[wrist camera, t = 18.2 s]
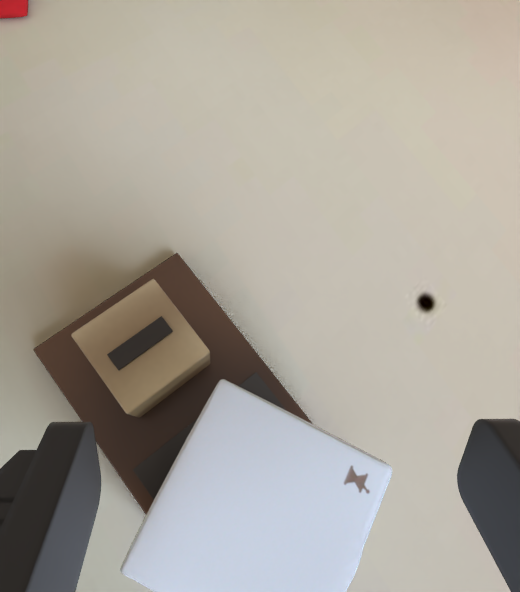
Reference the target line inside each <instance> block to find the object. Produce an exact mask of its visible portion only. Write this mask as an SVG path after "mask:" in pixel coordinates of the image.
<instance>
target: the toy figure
mask: <svg viewBox="0 0 520 592" xmlns="http://www.w3.org/2000/svg"><path fill="white" fill-rule="evenodd" d="M27 13H28V0H0V18H15V17H23V16H27Z"/></svg>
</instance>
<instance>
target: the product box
mask: <svg viewBox="0 0 520 592" xmlns="http://www.w3.org/2000/svg"><path fill="white" fill-rule="evenodd" d="M391 475H392V468H391V466H390V465H389V464H387V463H386V462H384V461H382V460H380V459H378V458H376V457H374V456H372V455H370V454H369V453H367V452H365V451H363V450H361V449H359V448H357V447H355V446H353V445H351V444H350V443H348V442H346V441H344V440H342V439H340V438H338V437H336V436H334V435H332V434H330V433H328V432H327V431H325V430H323V429H321V428H319V427H317V426H315V425H313V424H311V423H309V422H307V421H305V420H303V419H301V418H299V417H298V416H296V415H294V414H292V413H290V412H288V411H286V410H284V409H282V408H280V407H278V406H276V405H274V404H272V403H270V402H268V401H266V400H264V399H262V398H260V397H258V396H256V395H254V394H252V393H250V392H248V391H246V390H244V389H242V388H240V387H238V386H236V385H234V384H232V383H230V382H229V381H227V380H225V379H222V380H220V381H219V382H218V384H217V385H216V387H215V389H214V391H213V392H212V394H211V396H210V398H209V399H208V401H207V403H206V405H205V406H204V408H203V410H202V412H201V414H200V415H199V417H198V419H197V421H196V423H195V425H194V426H193V428H192V430H191V432H190V434H189V435H188V437H187V439H186V441H185V443H184V445H183V447H182V448H181V450H180V452H179V454H178V456H177V458H176V460H175V461H174V463H173V465H172V467H171V469H170V471H169V473H168V475H167V477H166V478H165V480H164V482H163V484H162V486H161V488H160V490H159V492H158V493H157V495H156V497H155V499H154V501H153V503H152V505H151V507H150V509H149V511H148V513H147V515H146V516H145V518H144V520H143V522H142V524H141V526H140V528H139V530H138V532H137V534H136V536H135V538H134V540H133V542H132V544H131V546H130V548H129V551H128V553H127V555H126V557H125V559H124V561H123V563H122V566H121V568H120V571H121V573H122V574H124V575H125V576H127V577H129V578H131V579H133V580H135V581H136V582H138V583H140V584H142V585H143V586H145V587H147V588H149V589H151V590H152V591H154V592H346V591H347V589H348V587H349V585H350V583H351V582H352V580H353V577H354V575H355V573H356V570H357V568H358V565H359V562H360V559H361V555H362V551H363V548H364V545H365V542H366V540H367V537H368V534H369V532H370V529H371V527H372V524H373V522H374V519H375V517H376V514H377V512H378V509H379V506H380V504H381V501H382V499H383V496H384V493H385V491H386V488H387V486H388V483H389V481H390V478H391Z"/></svg>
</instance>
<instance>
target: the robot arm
mask: <svg viewBox="0 0 520 592" xmlns="http://www.w3.org/2000/svg"><path fill="white" fill-rule="evenodd" d="M457 482H458V488H459V492H460V495H461V498H462V500H463V502H464V504H465V506H466V508H467V510H468V511H469V513H470V515H471V517H472V519H473V521H474V523H475V525H476V527H477V528H478V530H479V532H480V534H481V536H482V538H483V540H484V542H485V543H486V545H487V547H488V549H489V551H490V553H491V555H492V557H493V559H494V560H495V562H496V564H497V566H498V568H499V570H500V572H501V574H502V575H503V577H504V579H505V581H506V583H507V585H508V587H509V589H510V591H511V592H520V421H518V420H516V419H479V420H477V421H476V422H475V424H474V426H473V428H472V431H471V434H470V437H469V439H468V442H467V445H466V448H465V451H464V454H463V457H462V459H461V462H460V465H459V468H458V473H457ZM100 493H101V473H100V466H99V460H98V453H97V446H96V440H95V433H94V427H93V424H92V423H91V422H52V423H50V424H49V426H48V427H47V429H46V431H45V433H44V435H43V438H42V440H41V442H40V444H39V446H38V448H37V450H19V451H18V452H17V453H16V454H15V455H14V456H13V457H12V458H11V459H10V460H9V461H8V462H7V463H6V464H5V465H4V466H3V467H2V468H1V469H0V592H75V590H76V587H77V583H78V579H79V576H80V572H81V568H82V565H83V561H84V557H85V554H86V550H87V546H88V543H89V539H90V535H91V532H92V528H93V524H94V521H95V517H96V513H97V509H98V505H99V500H100Z"/></svg>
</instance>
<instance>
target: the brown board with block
mask: <svg viewBox="0 0 520 592" xmlns="http://www.w3.org/2000/svg"><path fill="white" fill-rule="evenodd" d="M34 352H35V353H36V354H37V356H38V357H39V359H40V360H41V362H42V363H43V365H44V366H45V368H46V369H47V371H48V372H49V373H50V375H51V376H52V378H53V379H54V381H55V382H56V384H57V385H58V387H59V388H60V390H61V391H62V392H63V394H64V395H65V397H66V398H67V400H68V401H69V403H70V404H71V406H72V407H73V409H74V410H75V411H76V413H77V414H78V416H79V417H80V419H81V420H82V422H91V423H92V424H93V427H94V433H95V440H96V442H97V444H98V445H99V447H100V448H101V449H102V451H103V452H104V454H105V455H106V457H107V458H108V460H109V461H110V463H111V464H112V466H113V467H114V468H115V470H116V471H117V473H118V474H119V476H120V477H121V479H122V480H123V482H124V483H125V485H126V486H127V487H128V489H129V490H130V492H131V493H132V495H133V496H134V498H135V499H136V501H137V502H138V504H139V505H140V506H141V508H142V509H143V511H144V512H145V514H146V515H147V513H148V511H149V509H150V507H151V505H152V503H153V501H154V499H155V497H156V495H157V493H158V492H159V490H160V488H161V486H162V484H163V482H164V480H165V478H166V477H167V475H168V473H169V471H170V469H171V467H172V465H173V463H174V461H175V460H176V458H177V456H178V454H179V452H180V450H181V448H182V447H183V445H184V443H185V441H186V439H187V437H188V435H189V434H190V432H191V430H192V428H193V426H194V425H195V423H196V421H197V419H198V417H199V415H200V414H201V412H202V410H203V408H204V406H205V405H206V403H207V401H208V399H209V398H210V396H211V394H212V392H213V391H214V389H215V387H216V385H217V384H218V382H219V381H220V380H222V379H225V380H227V381H229V382H230V383H232V384H234V385H236V386H238V387H240V388H242V389H244V390H246V391H248V392H250V393H252V394H254V395H256V396H258V397H260V398H262V399H264V400H266V401H268V402H270V403H272V404H274V405H276V406H278V407H280V408H282V409H284V410H286V411H288V412H290V413H292V414H294V415H296V416H298V417H299V418H301V419H303V420H305V421H307V422H309V423H311V424H312V422H311V421H310V420H309V419H308V417H307V416H306V415H305V414H304V412H303V411H302V410H301V408H300V407H299V406H298V405H297V403H296V402H295V401H294V400H293V398H292V397H291V396H290V395H289V393H288V392H287V391H286V390H285V388H284V387H283V386H282V384H281V383H280V382H279V381H278V379H277V378H276V377H275V376H274V374H273V373H272V372H271V371H270V369H269V368H268V367H267V366H266V364H265V363H264V362H263V360H262V359H261V358H260V357H259V355H258V354H257V353H256V352H255V350H254V349H253V348H252V347H251V345H250V344H249V343H248V342H247V340H246V339H245V338H244V336H243V335H242V334H241V333H240V331H239V330H238V329H237V328H236V326H235V325H234V324H233V323H232V321H231V320H230V319H229V318H228V316H227V315H226V314H225V312H224V311H223V310H222V309H221V307H220V306H219V305H218V304H217V302H216V301H215V300H214V299H213V297H212V296H211V295H210V294H209V292H208V291H207V290H206V288H205V287H204V286H203V285H202V283H201V282H200V281H199V280H198V278H197V277H196V276H195V275H194V273H193V272H192V271H191V270H190V268H189V267H188V266H187V264H186V263H185V262H184V261H183V259H182V258H181V257H180V256H179V254H178V253H176V254H174V255H173V256H171V257H170V258H168V259H167V260H165V261H164V262H162V263H161V264H159V265H158V266H156V267H155V268H154V269H152V270H151V271H149V272H148V273H146V274H145V275H143V276H142V277H140V278H139V279H137V280H136V281H134V282H133V283H131V284H130V285H128V286H127V287H125V288H124V289H122V290H121V291H119V292H118V293H116V294H115V295H113V296H112V297H110V298H109V299H107V300H106V301H104V302H103V303H101V304H100V305H98V306H97V307H95V308H94V309H92V310H91V311H89V312H88V313H86V314H85V315H83V316H82V317H80V318H79V319H77V320H76V321H74V322H73V323H72V324H70V325H69V326H67V327H66V328H64V329H63V330H61V331H60V332H58V333H57V334H55V335H54V336H52V337H51V338H49V339H48V340H46V341H45V342H43V343H42V344H40V345H39V346H37V347H36V348H34Z"/></svg>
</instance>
